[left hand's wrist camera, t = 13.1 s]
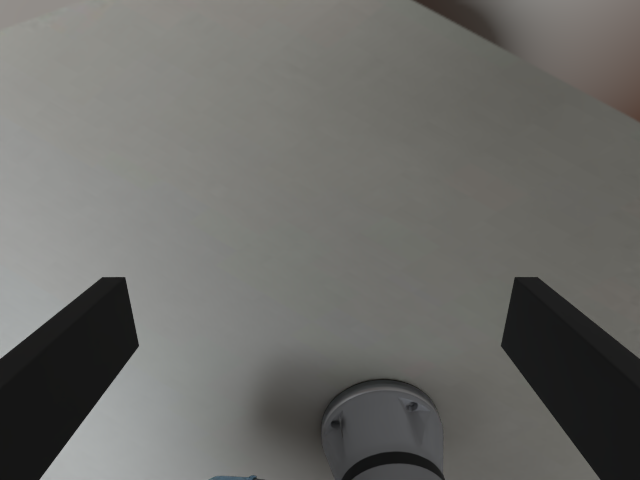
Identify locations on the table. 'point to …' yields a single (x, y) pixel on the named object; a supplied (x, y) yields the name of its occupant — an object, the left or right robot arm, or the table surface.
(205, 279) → the table surface
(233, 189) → the table surface
